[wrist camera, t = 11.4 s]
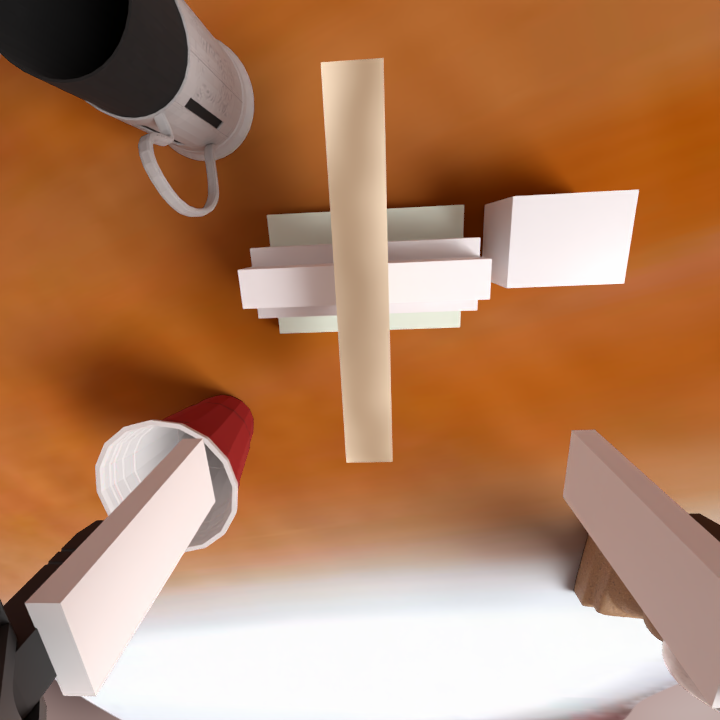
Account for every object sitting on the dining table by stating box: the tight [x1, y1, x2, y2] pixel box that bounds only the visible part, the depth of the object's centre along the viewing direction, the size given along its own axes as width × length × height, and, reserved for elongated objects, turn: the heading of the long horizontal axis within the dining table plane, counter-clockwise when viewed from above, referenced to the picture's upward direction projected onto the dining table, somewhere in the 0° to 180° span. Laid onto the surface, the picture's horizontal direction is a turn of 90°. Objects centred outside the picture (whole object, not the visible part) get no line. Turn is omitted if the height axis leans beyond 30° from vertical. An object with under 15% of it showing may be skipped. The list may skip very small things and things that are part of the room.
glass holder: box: [0, 0, 254, 217], centre depth 24 cm, size 9×14×15 cm, turn 21°
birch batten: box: [321, 58, 393, 463], centre depth 23 cm, size 3×22×3 cm, turn 3°
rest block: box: [482, 190, 639, 288], centre depth 29 cm, size 8×6×7 cm
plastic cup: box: [95, 395, 254, 552], centre depth 33 cm, size 11×11×12 cm
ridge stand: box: [238, 205, 492, 334], centre depth 29 cm, size 16×10×10 cm, turn 93°
